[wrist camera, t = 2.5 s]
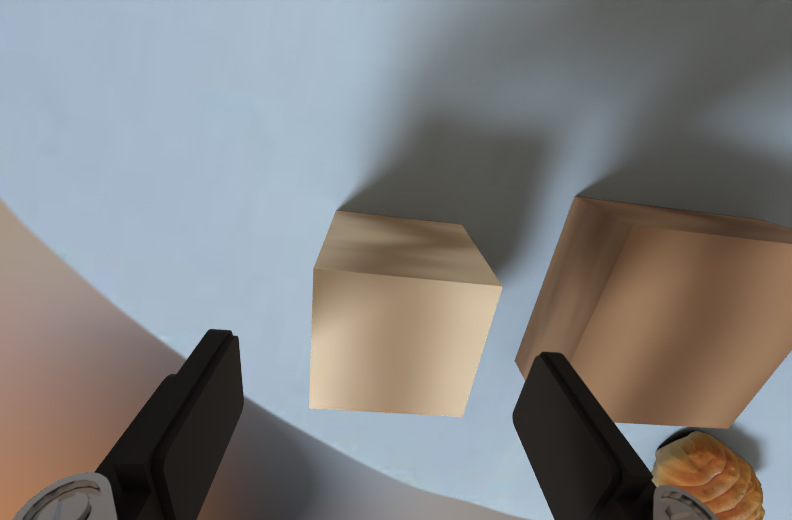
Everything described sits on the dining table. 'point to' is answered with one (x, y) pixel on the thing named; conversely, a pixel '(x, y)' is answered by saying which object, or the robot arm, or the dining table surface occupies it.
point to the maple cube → (398, 316)
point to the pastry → (711, 476)
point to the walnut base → (665, 310)
